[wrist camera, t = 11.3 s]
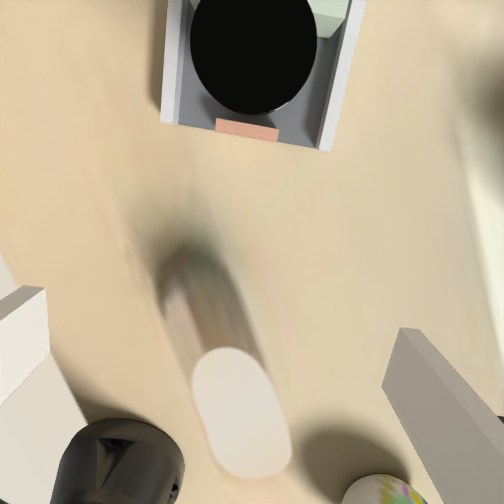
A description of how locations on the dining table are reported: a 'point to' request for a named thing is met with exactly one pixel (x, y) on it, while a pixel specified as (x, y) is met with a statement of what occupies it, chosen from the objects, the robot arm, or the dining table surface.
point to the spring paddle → (321, 14)
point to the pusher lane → (285, 119)
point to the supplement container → (253, 52)
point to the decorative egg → (381, 491)
